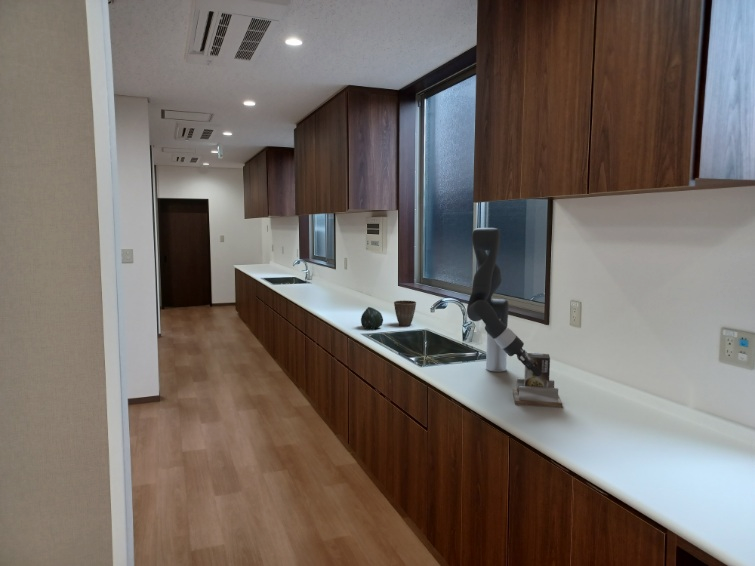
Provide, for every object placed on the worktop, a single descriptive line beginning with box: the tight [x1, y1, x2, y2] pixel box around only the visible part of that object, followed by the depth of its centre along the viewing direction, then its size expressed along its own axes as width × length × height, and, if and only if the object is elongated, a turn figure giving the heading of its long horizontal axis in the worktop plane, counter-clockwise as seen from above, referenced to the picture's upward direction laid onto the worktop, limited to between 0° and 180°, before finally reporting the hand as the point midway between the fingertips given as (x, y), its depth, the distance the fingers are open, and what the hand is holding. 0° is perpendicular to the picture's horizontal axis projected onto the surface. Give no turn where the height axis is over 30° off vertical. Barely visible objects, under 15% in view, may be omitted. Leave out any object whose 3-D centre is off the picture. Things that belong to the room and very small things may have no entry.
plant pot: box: [393, 300, 417, 327], centre depth 351 cm, size 15×15×16 cm
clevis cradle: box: [512, 377, 563, 408], centre depth 201 cm, size 14×17×6 cm
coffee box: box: [523, 352, 551, 388], centre depth 201 cm, size 9×6×16 cm
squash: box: [360, 306, 384, 330], centre depth 342 cm, size 14×15×15 cm
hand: (538, 371), depth 200 cm, fingers open, 8 cm apart
